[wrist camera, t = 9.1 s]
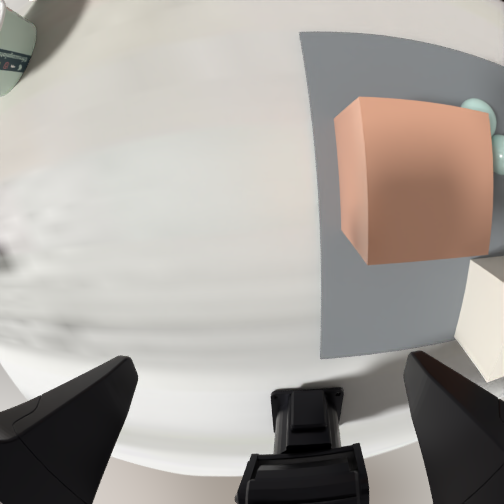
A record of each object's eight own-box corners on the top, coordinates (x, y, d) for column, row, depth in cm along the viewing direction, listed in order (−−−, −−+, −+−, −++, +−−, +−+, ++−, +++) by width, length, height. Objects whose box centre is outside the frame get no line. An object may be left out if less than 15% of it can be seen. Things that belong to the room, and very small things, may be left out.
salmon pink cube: (435, 225, 17) (488, 254, 11) (341, 230, 18) (367, 265, 12) (432, 123, 15) (488, 113, 9) (333, 118, 16) (358, 96, 10)
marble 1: (482, 142, 14) (506, 142, 12) (453, 138, 15) (477, 137, 12) (477, 104, 13) (500, 99, 11) (448, 98, 14) (470, 91, 11)
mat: (510, 322, 19) (512, 324, 18) (320, 356, 22) (320, 359, 21) (521, 75, 11) (523, 75, 11) (299, 34, 14) (299, 31, 14)
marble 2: (502, 174, 15) (525, 179, 12) (477, 172, 15) (501, 176, 12) (500, 137, 14) (523, 137, 11) (475, 132, 14) (499, 131, 11)
